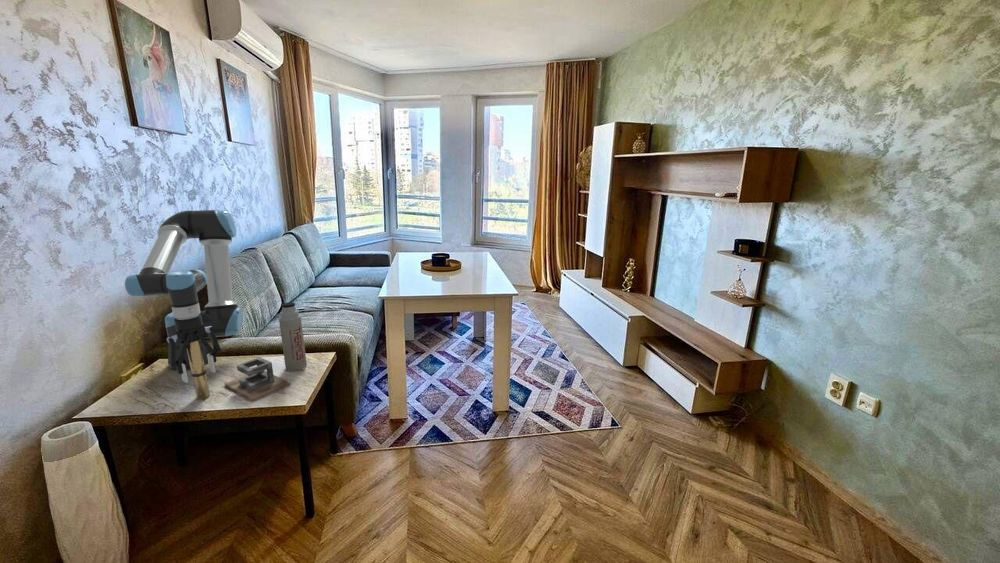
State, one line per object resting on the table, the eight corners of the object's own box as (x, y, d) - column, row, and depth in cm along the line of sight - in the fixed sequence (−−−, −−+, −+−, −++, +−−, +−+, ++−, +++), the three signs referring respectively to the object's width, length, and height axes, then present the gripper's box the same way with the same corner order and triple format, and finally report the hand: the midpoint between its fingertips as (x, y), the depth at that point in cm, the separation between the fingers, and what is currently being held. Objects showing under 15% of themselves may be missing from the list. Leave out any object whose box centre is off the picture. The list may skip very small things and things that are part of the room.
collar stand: (224, 385, 155) (220, 364, 153) (261, 371, 167) (258, 351, 164) (252, 401, 145) (248, 378, 142) (290, 384, 156) (287, 363, 154)
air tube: (194, 397, 147) (182, 341, 141) (207, 392, 150) (196, 337, 145) (199, 401, 145) (188, 343, 139) (212, 395, 148) (202, 339, 142)
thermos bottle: (309, 367, 170) (301, 304, 163) (288, 373, 165) (279, 308, 158) (303, 361, 176) (296, 299, 169) (283, 366, 171) (274, 303, 164)
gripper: (154, 327, 129) (169, 391, 135) (225, 310, 146) (235, 367, 152) (145, 323, 133) (159, 385, 139) (215, 306, 150) (225, 362, 156)
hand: (199, 376), depth 145 cm, fingers open, 8 cm apart
